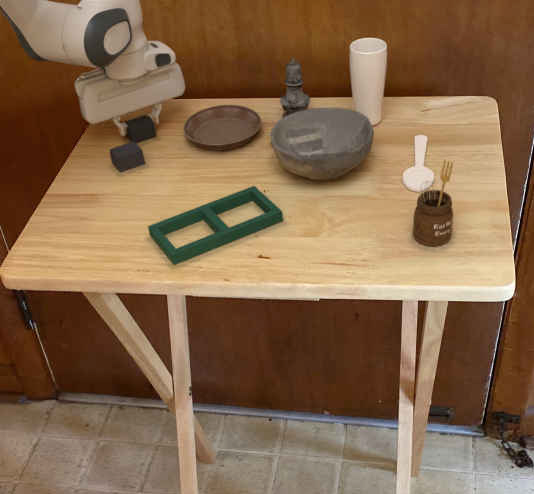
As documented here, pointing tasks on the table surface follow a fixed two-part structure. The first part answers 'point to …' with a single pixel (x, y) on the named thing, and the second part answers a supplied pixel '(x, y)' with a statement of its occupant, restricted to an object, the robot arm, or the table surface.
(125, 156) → the pad
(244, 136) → the saucer
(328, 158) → the bowl
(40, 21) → the robot arm
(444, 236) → the utensil holder
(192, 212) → the green divided frame
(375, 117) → the drinking glass
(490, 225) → the table surface
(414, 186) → the spoon
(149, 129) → the pad
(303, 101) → the dark grey tiered figurine
